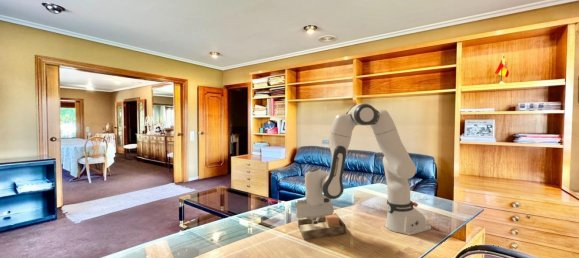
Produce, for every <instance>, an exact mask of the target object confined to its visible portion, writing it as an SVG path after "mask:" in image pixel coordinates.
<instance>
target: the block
mask: <svg viewBox="0 0 579 258" xmlns="http://www.w3.org/2000/svg"><path fill="white" fill-rule="evenodd" d="M336 214H337V213H336ZM336 214H335V215H334V214H332V215H324V216H325V219H326V224H327V225H328V227H331V226H339V218H340V217H339V215H338V214H337V215H338V216H337V215H336ZM338 217H339V218H338Z"/></svg>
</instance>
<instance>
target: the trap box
mask: <svg viewBox="0 0 579 258" xmlns="http://www.w3.org/2000/svg"><path fill="white" fill-rule="evenodd" d="M335 214H336V215H337V216H338V218H339V226H331V227H328V225H327V224H326V219H325V216H326V215H323V217H320V219H319V220H318V224H312V220H311V218H298V219H297V223H298V224H297V225H298V229H299V231H300V233H301V236H302V239H303V240H312V239H313V240H314V239H319V238H328V237H334V236H342V235H347V234H346V233H347V232H346V224H345V222H344V221H343V220H342V219H341V217H340V216H339V215H338V214H337V213H333V215H335ZM316 219H317V217H315V218H313V220H316Z"/></svg>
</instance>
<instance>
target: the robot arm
mask: <svg viewBox="0 0 579 258" xmlns="http://www.w3.org/2000/svg"><path fill="white" fill-rule="evenodd" d="M356 126H370V127H371V129H372V131H373V135H374V137H375V139H376V141H377V145H378V147H379V150H380V151H381V153H382V155H383V157H382V165H383V170H384V175H385V181H386V187H387V190H386V192H387V199H386V211H387V215H386V219H385V224H384V225H385V228H386V229H388V230H389V231H391V232H395V233H401V234H404V235H408V236H411V235H416V234H419V233H423V232H427V231H430V230H431V229H432V226H431V224H430V223H428V221H427V220H426V216H425V215H424V214H423V213H422V212H420V211H419V210H418V209H416V208H417V207H418V206H419V204H418V203H417V202H416V201H413V200H411V186H410V184H409V179H412V178H413V177H414V176H415V175H416V172H417V165H416V164H415V163H414V161H413V159H412V158H411V157H410V154H409V152H408V150H407V148H406V147H405V145H404V143H403V141H402V139H401V137H400V134H399V132H398V129H397V127H396V124H395V122H394V119H393V118H392V116H391V114H390V113H389V111H388V110H386V109H378V110H377V109H376V108H375V107H374V106H372V105H371V104H368V103H357V104H355V105H352V107H350V108H349V110H348V111H346V113H338V114H337V115H336V116H335V117H334V120H333V122H332V125H331V128H330V133H329V136H328V146H329V147H328V148H329V149H330V154H331V162H330V163H331V164H330V168H329V169H330V170H329V172H327V171H325V170H322V169H321V168H319V167H311V168H309V169H307V170H306V171H305V174H304V187H305V199H298V200H297V201H295V203H294V208H295V217H296V218H297V219H307V217H310V218H311V220H312V224H318V220H319V219H320V216H327V215H334V206H333V202H332V200H336V199H339V198H340V197H341V196H342V195H343V193H344V190H345V189H344V184H343V175H344V169H345V164H346V158H347V154H348V151H349V146H350V143H351V140H352V136H353V131H354V129H355V128H356ZM315 216H317V219H316V220H313V217H315Z"/></svg>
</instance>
